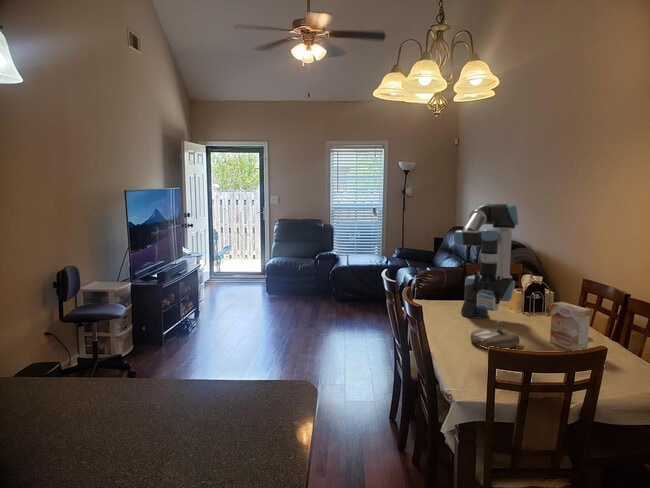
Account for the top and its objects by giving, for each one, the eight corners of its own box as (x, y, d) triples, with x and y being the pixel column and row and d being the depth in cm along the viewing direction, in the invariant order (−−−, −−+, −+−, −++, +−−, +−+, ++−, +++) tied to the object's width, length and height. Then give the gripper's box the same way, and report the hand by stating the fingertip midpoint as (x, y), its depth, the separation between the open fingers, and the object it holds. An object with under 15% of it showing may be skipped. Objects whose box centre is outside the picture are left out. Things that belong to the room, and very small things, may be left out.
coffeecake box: (549, 342, 217) (551, 303, 215) (559, 340, 220) (562, 301, 217) (577, 352, 204) (580, 311, 201) (588, 350, 206) (590, 309, 204)
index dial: (461, 338, 219) (461, 325, 218) (488, 329, 232) (489, 316, 231) (501, 352, 201) (502, 337, 200) (528, 341, 214) (529, 327, 213)
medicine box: (477, 308, 218) (477, 290, 217) (481, 306, 221) (481, 289, 220) (493, 311, 213) (494, 293, 211) (497, 309, 216) (497, 291, 215)
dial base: (465, 342, 219) (465, 336, 219) (489, 334, 230) (489, 328, 229) (510, 357, 200) (510, 350, 199) (534, 347, 210) (534, 341, 210)
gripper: (465, 259, 220) (463, 304, 223) (504, 266, 203) (502, 314, 206) (474, 258, 224) (473, 302, 227) (513, 264, 207) (511, 311, 210)
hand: (487, 308), depth 217 cm, fingers closed on medicine box, 8 cm apart
